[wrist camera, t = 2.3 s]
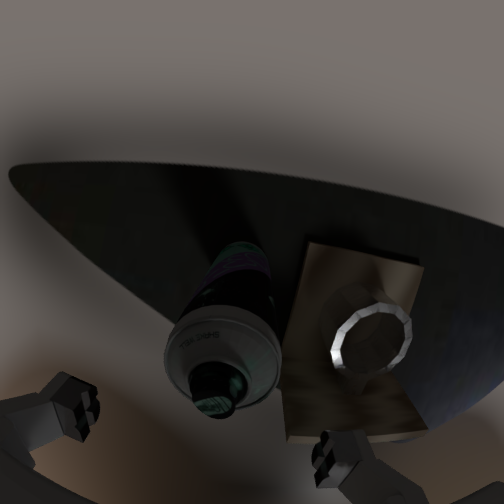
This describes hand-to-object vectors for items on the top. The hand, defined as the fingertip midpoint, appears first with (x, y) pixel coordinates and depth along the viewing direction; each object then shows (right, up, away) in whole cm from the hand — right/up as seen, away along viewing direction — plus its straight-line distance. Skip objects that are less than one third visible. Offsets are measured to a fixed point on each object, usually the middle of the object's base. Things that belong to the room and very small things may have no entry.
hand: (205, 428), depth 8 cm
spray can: (+1, +4, +21) cm, 21 cm away
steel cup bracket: (+13, -2, +21) cm, 24 cm away
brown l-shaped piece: (+13, -1, +22) cm, 25 cm away
